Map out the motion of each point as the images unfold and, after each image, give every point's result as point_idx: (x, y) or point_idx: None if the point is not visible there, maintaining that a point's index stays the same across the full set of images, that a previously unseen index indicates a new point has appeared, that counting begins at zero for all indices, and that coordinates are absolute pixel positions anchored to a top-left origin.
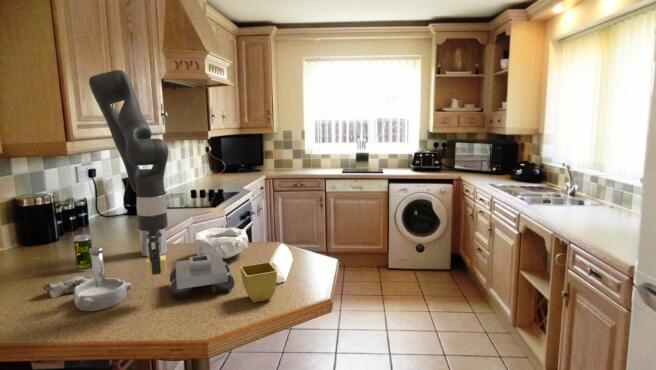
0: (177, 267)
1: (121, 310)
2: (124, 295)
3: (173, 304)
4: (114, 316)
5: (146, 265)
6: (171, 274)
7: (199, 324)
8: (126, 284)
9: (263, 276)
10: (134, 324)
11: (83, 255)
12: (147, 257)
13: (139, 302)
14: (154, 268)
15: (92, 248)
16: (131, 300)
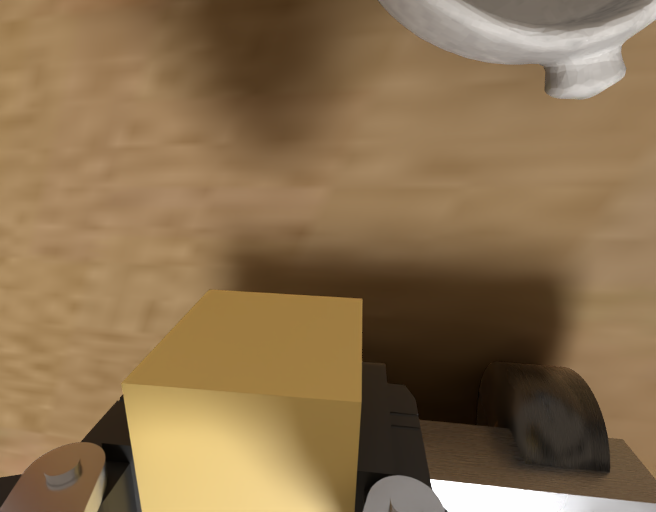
0: (492, 496)
1: (281, 50)
2: (461, 54)
3: None
4: (204, 11)
5: (155, 353)
6: (521, 408)
7: (8, 400)
8: (576, 60)
9: None
10: (66, 138)
11: None
12: (356, 416)
13: (362, 159)
14: (124, 408)
15: None
16: (422, 107)
